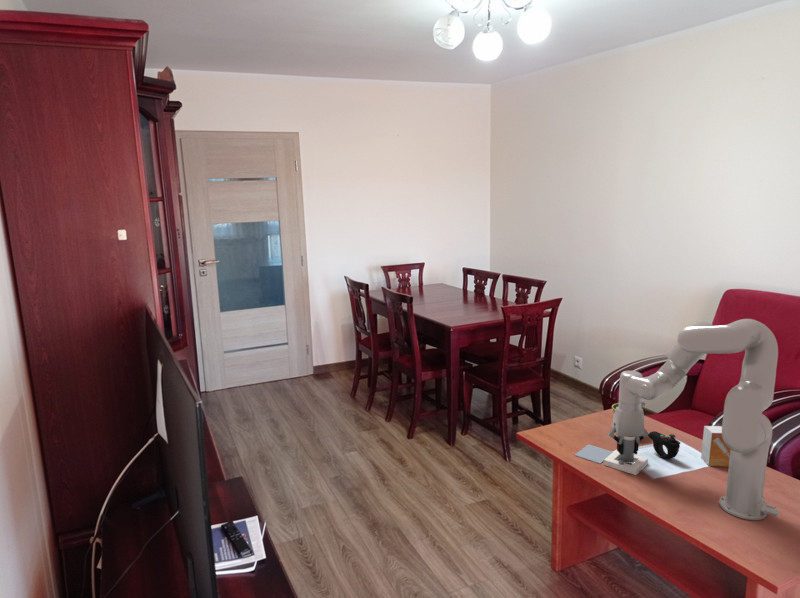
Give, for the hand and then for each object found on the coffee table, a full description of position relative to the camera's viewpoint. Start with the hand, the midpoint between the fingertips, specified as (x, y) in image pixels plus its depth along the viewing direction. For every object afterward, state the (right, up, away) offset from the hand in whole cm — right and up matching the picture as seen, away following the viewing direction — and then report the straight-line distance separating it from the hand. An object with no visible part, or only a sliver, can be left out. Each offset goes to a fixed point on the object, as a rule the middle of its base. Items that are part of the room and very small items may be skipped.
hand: (627, 452), depth 196 cm
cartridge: (0, -3, +1) cm, 3 cm away
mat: (-9, -3, +9) cm, 13 cm away
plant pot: (+10, 0, +26) cm, 28 cm away
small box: (+33, -4, +1) cm, 33 cm away
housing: (0, -5, +1) cm, 5 cm away
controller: (+16, -4, +6) cm, 18 cm away
